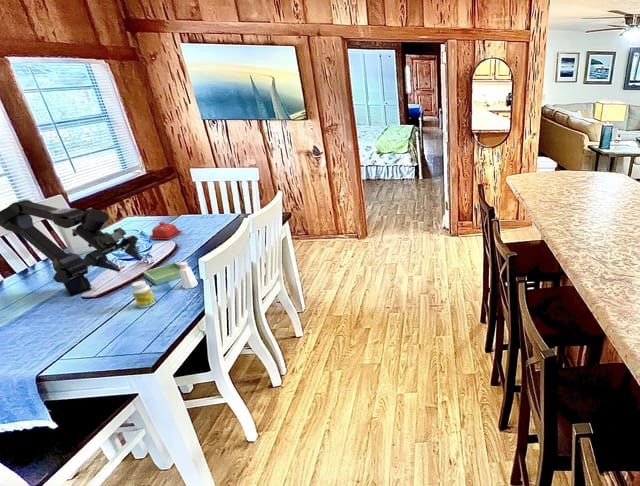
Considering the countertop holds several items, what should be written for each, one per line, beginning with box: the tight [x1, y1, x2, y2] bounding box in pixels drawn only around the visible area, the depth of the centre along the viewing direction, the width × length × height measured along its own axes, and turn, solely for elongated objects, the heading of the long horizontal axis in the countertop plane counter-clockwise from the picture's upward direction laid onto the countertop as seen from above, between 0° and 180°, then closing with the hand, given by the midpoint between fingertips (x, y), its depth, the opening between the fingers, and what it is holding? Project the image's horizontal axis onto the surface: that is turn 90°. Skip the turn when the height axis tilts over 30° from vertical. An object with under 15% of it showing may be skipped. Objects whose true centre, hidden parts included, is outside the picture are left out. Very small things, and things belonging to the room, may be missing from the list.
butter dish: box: [149, 221, 183, 240], centre depth 209 cm, size 12×12×8 cm
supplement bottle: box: [131, 280, 156, 308], centre depth 150 cm, size 5×5×10 cm
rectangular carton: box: [56, 224, 97, 256], centre depth 190 cm, size 9×9×15 cm
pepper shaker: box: [178, 261, 199, 290], centre depth 162 cm, size 5×5×11 cm
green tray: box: [142, 261, 181, 286], centre depth 172 cm, size 12×12×3 cm
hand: (130, 265), depth 151 cm, fingers open, 9 cm apart
